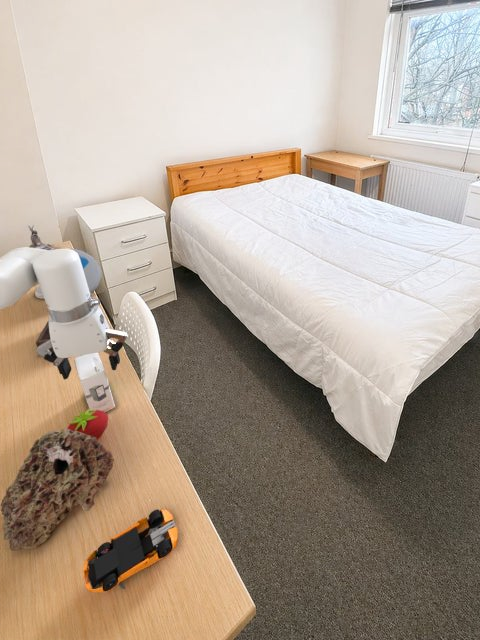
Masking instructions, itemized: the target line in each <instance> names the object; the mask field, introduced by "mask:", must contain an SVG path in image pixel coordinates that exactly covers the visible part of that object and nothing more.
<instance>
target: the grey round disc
mask: <svg viewBox="0 0 480 640" xmlns="http://www.w3.org/2000/svg"><path fill="white" fill-rule="evenodd" d="M70 249H71V250H74V251H75V252H77V254H78V255H79V258H80V261H81V264H82V267H83V271H84V274H85V278H86V281H87V285H88V288H89V292H90V295H91V294H92V293H93V292H94V291H95V290H96V289H97V288H98V286H99V285H100V282H101V280H102V270H101V267H100V265H99V263H98V261H97V260H96V259H95V258H94V257H93V256H92V255H90V254H88V253H87V252H85V251H84V250H80V249H76V248H70ZM93 290H94V291H93Z"/></svg>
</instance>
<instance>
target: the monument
mask: <svg viewBox="0 0 480 640" xmlns="http://www.w3.org/2000/svg"><path fill="white" fill-rule="evenodd" d="M34 226H35V225H32V226H30V225H28V228H29V231H30V232H31V234H30V241H31V244H30V245H29V246H28V247H30V248H37V249H44V250H55V249H58V248H57V247H55V248H54V247H52V244H51V243H47V244H45V243H43V242H42V241H41V238H40V237H39V235H38V231H37V230H36V229H33V228H34Z"/></svg>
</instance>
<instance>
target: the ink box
mask: <svg viewBox="0 0 480 640" xmlns="http://www.w3.org/2000/svg"><path fill="white" fill-rule="evenodd" d="M73 362H74V366H75V369H76V372H77V376H78V380H79V382H80V386H81V388H82V392H83V395H84V398H85V401H86V403H87V406H88V409H89V411H92V410H97V409H98V410H101V411H104V412H105V413H107V412H109V411H110V410H113V409H115V408H116V405H115V402H114V398H113V394H112V391H111V387H110V384H109V380H108V376H107V373H106V369H105V367H104V365H103V362H102V359H101V357H100V354H99V352H98V353H92V354H87V355H81V356H75V357H73Z"/></svg>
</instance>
